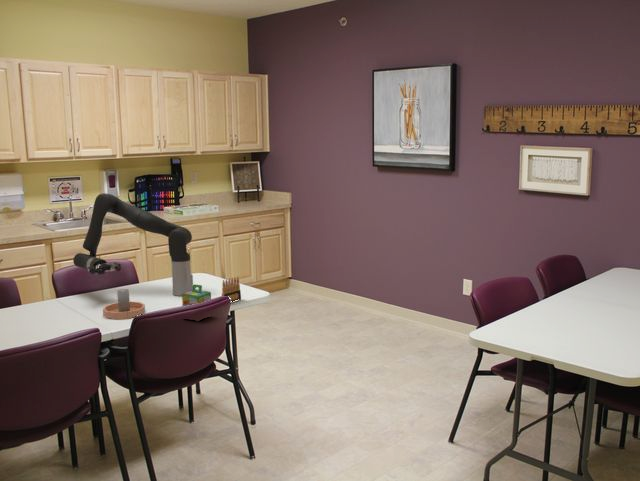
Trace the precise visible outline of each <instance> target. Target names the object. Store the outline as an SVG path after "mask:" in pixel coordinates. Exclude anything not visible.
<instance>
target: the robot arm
mask: <svg viewBox="0 0 640 481" xmlns="http://www.w3.org/2000/svg"><path fill="white" fill-rule="evenodd" d="M107 213H111V214H113V215H116V216H119V217H122V218H123V219H125V220H126V221H127V222H128V223H130V224H131V225H133V226H134V227H135V228H138V229H140V230H143V231H145V232H149V233H151V234H152V233H153V234H157V235H162V236H165V237H167V238H168V240H167V244H168V253H169V256H170V260H171V264H170V265H171V276H172V277H171V279H172V280H171V281H172V282H171V283H172V295H173V296H178V297H182V294H183V293H186V292H189V291H192V290H193V285H194V277H193V274H192V272H191V271H192V270H191V255H190V253H189V252H188V249H187V246H188V245H189V244H190V243H191V242H192V239H193V235H192V232H191V231H190V230H189V229H188V228H186V227H184V226H181V225H178V224H175V223H172V222H170V221H168V220H165V219H163V218H161V217H159V216H157V215H155V214H153V213H151V212H149V211H147V210H145V209H142V208H140V207H138V206H135V205H133V204H132V205H131V204H129V203H127V202H125V201H124V200H122V199H120V198H118V197H117V196H116V195H113V194H110V193H100V194H98V195H97V196H96V197H95V199H94V204H93V210H92V215H91V219H90V222H89V223H90V224H89V226H88V230H87V233H86V235H85V239H84V241H83V243H82V248H83V249H84V250H86V251H89V254H86V253H83V252H78V253H76V254H75V255H74V256H73V260H72V261H73V265H74V266H75V267H78V268H81V269H85V270H87V273H89V274H91V275H94V274H96V275H99V276H100V275H104V274H105V273H106V272H113V271H117V272H121V269H122V266H121V265H122V264H121V263H117V262H113V263H108V262H107V260H105V259H103V258H100V257H97V253H98V246H99V245H100V242H101V240H102V235H103V223H104V220H105V217H106V215H107Z"/></svg>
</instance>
